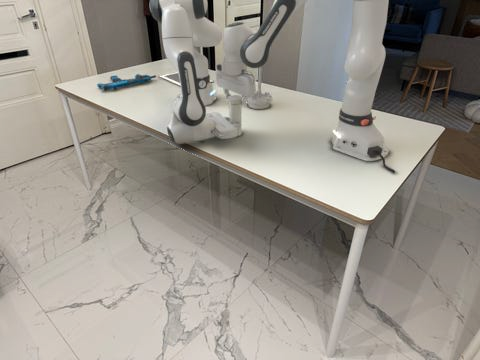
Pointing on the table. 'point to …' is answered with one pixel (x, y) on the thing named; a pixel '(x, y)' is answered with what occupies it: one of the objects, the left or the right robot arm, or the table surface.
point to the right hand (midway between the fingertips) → (235, 101)
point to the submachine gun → (124, 82)
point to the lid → (234, 99)
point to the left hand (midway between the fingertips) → (237, 121)
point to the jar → (235, 115)
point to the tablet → (173, 78)
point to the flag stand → (259, 96)
